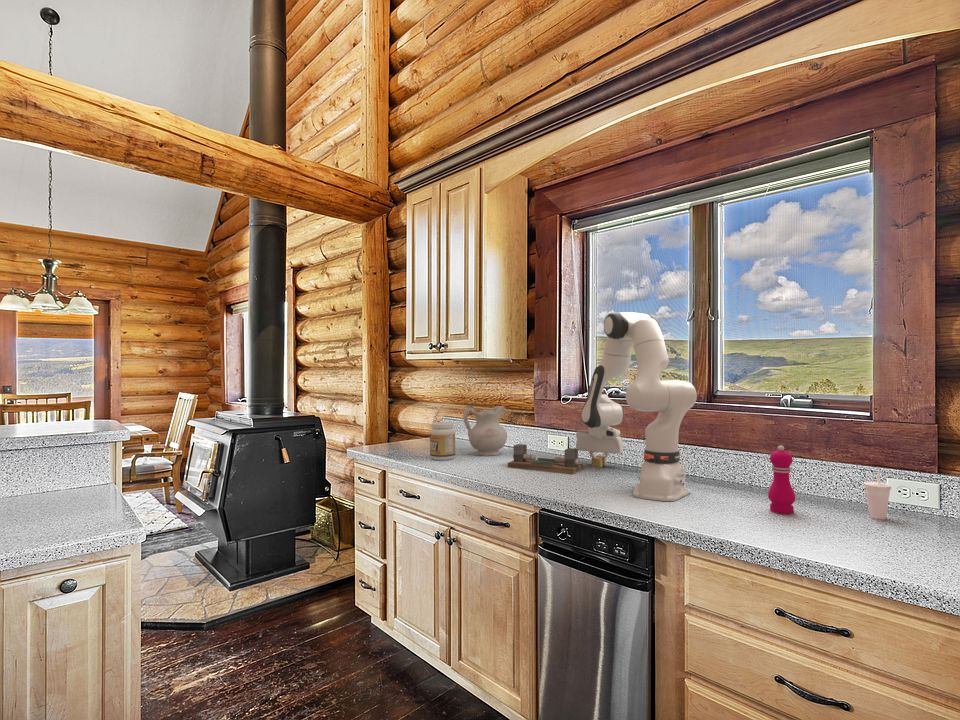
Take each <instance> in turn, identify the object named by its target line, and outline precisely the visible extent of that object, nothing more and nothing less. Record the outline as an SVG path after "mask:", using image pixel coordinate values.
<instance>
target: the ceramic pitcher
mask: <svg viewBox="0 0 960 720" xmlns="http://www.w3.org/2000/svg"><path fill="white" fill-rule="evenodd" d="M506 412H507V410H506V407H505V406H503V405H501V406H500V405H495V406H494V407H492V408H491V409H486V408H484V409H482V410H481V411H480V412H478V411H476V410H475V409H474V405H472V404H471V405H470V404H469V405H467V406H465V408H464V410H463V413H462V414H463V415H462V416H463V417H462V418H463V419H462V420H463V423H464V426H465V427H466V429H467V436H468V440H469V443H470V445H471V447H472V448H473V449H475V450H477V452H476V453H475V454H476V455H477V456H482V457H488V456H500V455H502V453H500V452H499V450H501V449H502V448H504V447H505V445H506V443H507V440H508V432H507V430H506V429H505V428H504V427H503V426H501V424H500V421H499V419H500V417H501V415H502V414H503V413H506ZM469 413H471V414H472V415H474V417H475V420H476V421H475V425H474V426H473V427H472V428H471V426H470V425H471V424H470V423H469V422H470V421H468V415H469Z"/></svg>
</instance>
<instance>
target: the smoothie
mask: <svg viewBox="0 0 960 720" xmlns="http://www.w3.org/2000/svg"><path fill="white" fill-rule="evenodd" d="M863 487H864V489H865V493H866V500H867V507H868V512H869V517H870V518H871V519H875V520H883V521H884V520H886V519H887V515H888V514H887V513H888V506H889V499H890V493H891V490H892V485H891V484H888V483H885V482H881V469H880V468H877V481H864V483H863Z"/></svg>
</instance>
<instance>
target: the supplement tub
mask: <svg viewBox="0 0 960 720" xmlns="http://www.w3.org/2000/svg"><path fill="white" fill-rule="evenodd" d="M429 456H430V457H429V458H430V459H431V460H433V461H440V460H442V461H451V460H454V459H455V457H456V430H455V428H454V422H451V421H450V422H449V421H439V422H437V421H436V422H432V423H431V429H430V431H429Z"/></svg>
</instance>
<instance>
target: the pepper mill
mask: <svg viewBox="0 0 960 720" xmlns="http://www.w3.org/2000/svg"><path fill="white" fill-rule="evenodd" d="M793 459H794V458H793V456H792V454H791V453H790V452H788V451H786V450H785V447H784V446H783V445H778V446H777V450H775V451H774V450H773V451H772V452H771V453H770V456H769V461H770V463H771V464H772V466H771V471H772V472H773V480H772V483H771V485H770V487H769V489H768V493H767V497H768V500H769V501H770V502H771V503H770V504H769V510H770V511H771V512H772V513H776V514H779V515H780V514H781V515H782V514H783V515H791V514H794V511H795V509H794V506H793V504H794V503H795V502H796V494H795V491H794V489H793V487H792V485H791V482H790V473H791V472H792V471H791V469H792V468H791V466H792V464H793V461H794V460H793Z"/></svg>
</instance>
